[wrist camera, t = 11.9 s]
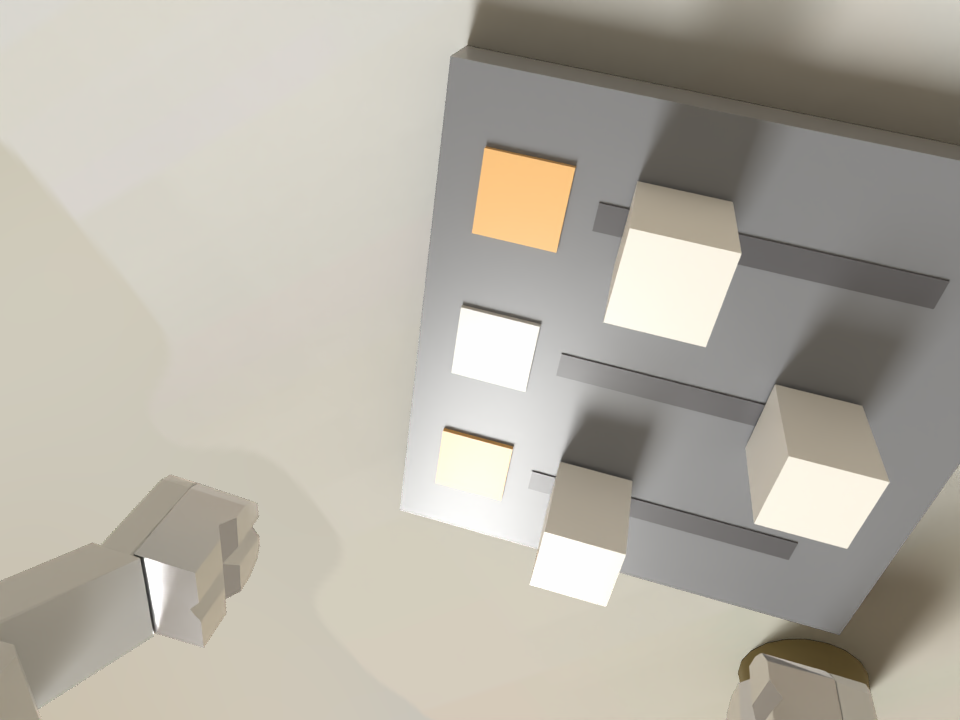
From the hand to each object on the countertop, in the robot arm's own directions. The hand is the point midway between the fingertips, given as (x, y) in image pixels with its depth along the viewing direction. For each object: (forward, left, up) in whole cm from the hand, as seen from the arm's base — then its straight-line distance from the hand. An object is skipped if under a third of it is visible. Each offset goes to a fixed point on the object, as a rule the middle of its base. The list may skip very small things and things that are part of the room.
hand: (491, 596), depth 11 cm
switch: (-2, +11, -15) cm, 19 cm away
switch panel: (-4, +5, -17) cm, 19 cm away
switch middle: (-9, +5, -15) cm, 19 cm away
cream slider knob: (-2, -1, -15) cm, 15 cm away
